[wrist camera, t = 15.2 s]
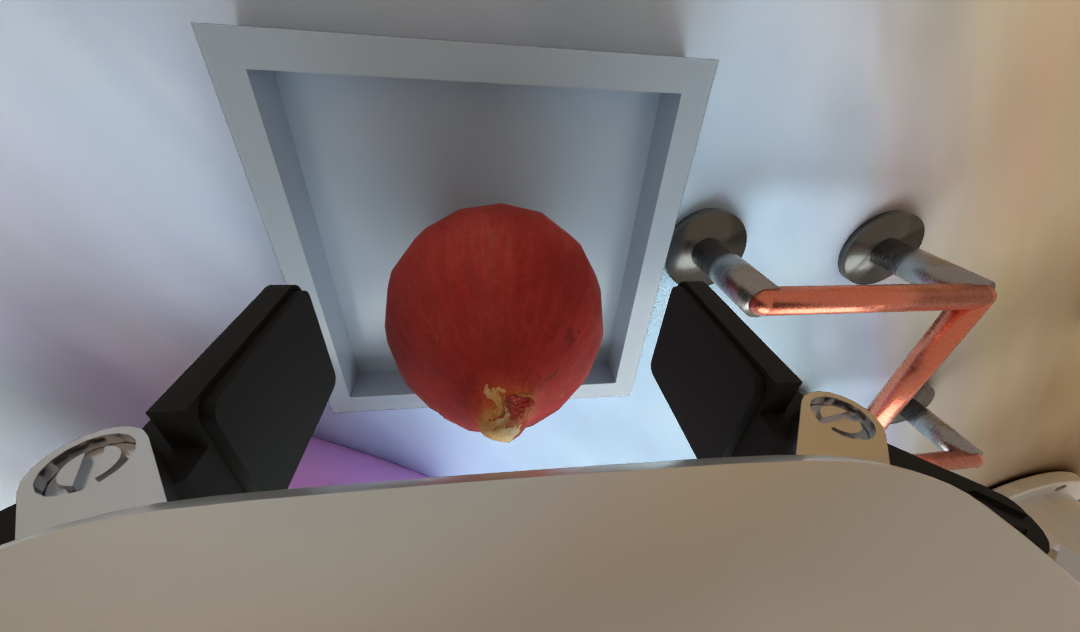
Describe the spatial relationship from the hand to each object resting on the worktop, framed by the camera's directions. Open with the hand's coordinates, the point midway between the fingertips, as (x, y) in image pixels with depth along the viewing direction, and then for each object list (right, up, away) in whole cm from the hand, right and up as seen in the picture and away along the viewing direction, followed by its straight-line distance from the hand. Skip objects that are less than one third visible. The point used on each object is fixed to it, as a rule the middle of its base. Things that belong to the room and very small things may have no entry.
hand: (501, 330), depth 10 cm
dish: (-1, +3, +4) cm, 5 cm away
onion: (-1, +3, +4) cm, 5 cm away
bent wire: (+15, -1, +9) cm, 18 cm away
